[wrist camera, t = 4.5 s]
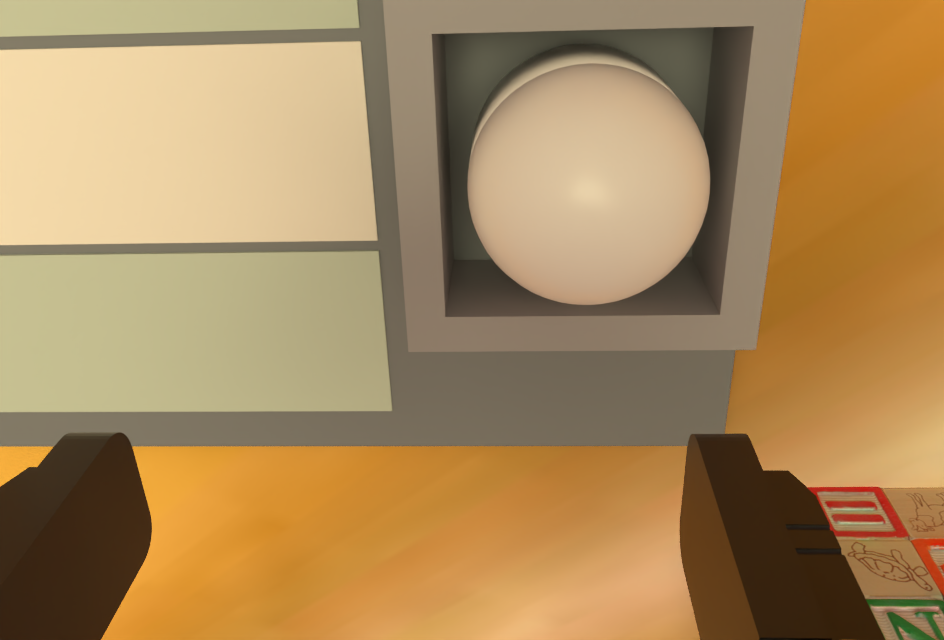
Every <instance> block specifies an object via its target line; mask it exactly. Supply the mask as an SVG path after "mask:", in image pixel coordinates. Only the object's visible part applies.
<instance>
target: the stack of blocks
mask: <svg viewBox="0 0 944 640" xmlns="http://www.w3.org/2000/svg"><path fill="white" fill-rule="evenodd" d="M808 489H809V490H810V491H811V492H812V493H814V494H815V495H816V497H817V499H818V501H819V503H820V505H821V507H822V509H823V511H824V513H825V515H826V518H827V520H828V522H829V524H830V530H833V532H834V534H835V536H836V538H837V540H838V542H839V545H840V547H841V553H842V555H845V557H846V559H847V561H848V563H849V565H850V567H851V569H852V572H853V574H854V576H855V578H856V580H857V582H858V584H859V586H860V588H861V590H862V592H863V594H864V596H865V599H866V601H867V603H868V605H869V607H870V609H871V611H872V613H873V615H874V617H875V619H876V621H877V623H878V625H879V628H880V630H881V632H882V634H883V636H884V638H885V640H944V488H885V489H881V488H879V487H808Z"/></svg>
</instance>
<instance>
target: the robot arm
mask: <svg viewBox="0 0 944 640" xmlns="http://www.w3.org/2000/svg"><path fill="white" fill-rule="evenodd" d="M151 532H152V523H151V516H150V511H149V508H148V504H147V500H146V496H145V493H144V489H143V485H142V482H141V478H140V474H139V471H138V467H137V463H136V460H135V456H134V452H133V449H132V445H131V442H130V440H129V439H128V437H127V436H126V435H125V434H124V433H121V432H74V433H67V434H66V435H64V436H63V437H62V438H61V439H60V440H59V441H58V443H57V444H56V445H55V446H54V447H53V449H52V450H51V451H50V452H49V454H48V455H47V456H46V457H45V458H44V460H43V461H42V462H41V463H40V464H39V466H38V467H29V468H27V469H26V470H25V471H23V472H22V473H20V474H19V475H17V476H16V477H14V478H13V479H11V480H10V481H8V482H7V483H5V484H4V485H3V486H1V487H0V640H101V638H102V637H103V635H104V633H105V631H106V629H107V628H108V626H109V624H110V622H111V620H112V619H113V617H114V615H115V613H116V611H117V609H118V608H119V606H120V604H121V602H122V600H123V599H124V597H125V595H126V593H127V591H128V590H129V588H130V586H131V584H132V582H133V581H134V579H135V577H136V575H137V573H138V571H139V570H140V568H141V566H142V564H143V562H144V560H145V558H146V556H147V553H148V550H149V546H150V541H151ZM680 548H681V557H682V563H683V568H684V572H685V577H686V581H687V585H688V589H689V593H690V598H691V602H692V606H693V610H694V614H695V619H696V623H697V627H698V631H699V635H700V640H885V638H884V636H883V634H882V632H881V630H880V628H879V625H878V623H877V621H876V619H875V617H874V615H873V613H872V611H871V609H870V607H869V605H868V603H867V601H866V599H865V596H864V594H863V592H862V590H861V588H860V586H859V584H858V582H857V580H856V578H855V576H854V574H853V572H852V569H851V567H850V565H849V563H848V561H847V559H846V557H845V555H842V553H841V547H840V545H839V542H838V540H837V538H836V536H835V534H834V532H833V530H830V524H829V522H828V520H827V518H826V515H825V513H824V511H823V509H822V507H821V505H820V503H819V501H818V499H817V497H816V495H815V494H814V493H812V492H811V491H810V490H809V489H808V488H807V487H806V486H805V485H804V484H802V483H801V482H800V481H799V480H798V479H797V478H796V477H795V476H794V475H792V474H791V473H790V472H789V471H763V470H762V467H761V465H760V462H759V460H758V457H757V455H756V453H755V450H754V448H753V445H752V443H751V441H750V438H749V437H748V435H746V434H691V435H690V437H689V441H688V447H687V456H686V466H685V476H684V486H683V496H682V506H681V516H680Z"/></svg>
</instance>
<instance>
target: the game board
mask: <svg viewBox="0 0 944 640" xmlns="http://www.w3.org/2000/svg"><path fill="white" fill-rule="evenodd" d="M805 2H806V0H0V446H55V445H56V444H57V443H58V441H59V440H60V439H61V438H62V437H63V436H64V435H66V434H67V433H74V432H121V433H124V434H125V435H126V436H127V437H128V439H129V440H130V442H131V445H132V446H688V441H689V437H690V435H691V434H725V426H726V418H727V411H728V403H729V395H730V388H731V380H732V372H733V365H734V357H735V350H756V345H757V338H758V331H759V324H760V317H761V310H762V303H763V296H764V289H765V282H766V275H767V268H768V261H769V254H770V247H771V240H772V233H773V226H774V219H775V212H776V205H777V198H778V191H779V184H780V177H781V170H782V163H783V156H784V149H785V142H786V135H787V128H788V121H789V114H790V107H791V100H792V93H793V86H794V79H795V72H796V65H797V58H798V51H799V44H800V37H801V30H802V23H803V16H804V9H805ZM577 44H592V45H601V46H606V47H612V48H615V49H618V50H621V51H624V52H626V53H628V54H630V55H632V56H634V57H636V58H638V59H640V60H641V61H643V62H644V63H645V64H647V65H648V66H650V67H651V68H652V69H653V70H654V71H655V72H656V73H657V74H659V75H660V76H661V78H662V79H663V80H664V81H665V82H666V84H667V85H668V86H669V87H670V89H671V90H672V91H673V92H674V94H675V95H676V96H677V97H678V99H679V100H680V101H681V102H682V104H683V105H684V106H685V107H686V109H687V110H688V111H689V113H690V114H691V116H692V118H693V119H694V121H695V123H696V124H697V127H698V129H699V131H700V133H701V136H702V138H703V141H704V143H705V147H706V151H707V155H708V159H709V168H710V195H709V201H708V207H707V211H706V214H705V218H704V221H703V224H702V226H701V228H700V231H699V233H698V235H697V237H696V239H695V241H694V243H693V244H692V246H691V248H690V249H689V251H688V252H687V254H686V255H685V256H684V258H683V259H682V260H681V261H680V262H679V264H678V265H677V266H676V267H675V268H674V269H673V270H672V271H671V272H670V273H668V274H667V275H666V276H665V277H664V278H662V279H661V280H660V281H658V282H657V283H656V284H654V285H652V286H651V287H649V288H647V289H646V290H644V291H642V292H640V293H638V294H635V295H633V296H631V297H629V298H625V299H622V300H619V301H616V302H610V303H605V304H596V305H576V304H567V303H561V302H557V301H553V300H550V299H547V298H544V297H542V296H539V295H537V294H535V293H532V292H531V291H529V290H527V289H526V288H524V287H522V286H520V285H519V284H518V283H517V282H515V281H514V280H513V279H511V278H510V277H509V276H508V275H506V274H505V273H504V272H503V271H502V270H501V269H500V268H499V267H498V266H497V265H496V263H495V262H494V261H493V259H492V258H491V257H490V255H489V254H488V253H487V251H486V249H485V248H484V246H483V244H482V242H481V240H480V239H479V237H478V234H477V232H476V229H475V227H474V224H473V221H472V217H471V213H470V209H469V201H468V190H467V183H468V168H469V161H470V154H471V148H472V141H473V135H474V130H475V126H476V123H477V120H478V117H479V114H480V112H481V110H482V108H483V106H484V104H485V102H486V100H487V99H488V97H489V96H490V94H491V92H492V91H493V90H494V89H495V87H496V86H497V85H498V84H499V83H500V81H501V80H502V79H503V78H504V77H505V76H506V75H507V74H509V73H510V72H511V71H512V70H513V69H514V68H516V67H517V66H519V65H520V64H521V63H523V62H524V61H526V60H528V59H530V58H532V57H533V56H535V55H537V54H539V53H542V52H545V51H548V50H550V49H553V48H558V47H562V46H567V45H577Z"/></svg>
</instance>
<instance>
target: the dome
mask: <svg viewBox="0 0 944 640" xmlns="http://www.w3.org/2000/svg"><path fill="white" fill-rule="evenodd" d="M467 190H468V201H469V209H470V213H471V217H472V221H473V224H474V227H475V229H476V232H477V234H478V237H479V239H480V240H481V242H482V244H483V246H484V248H485V249H486V251H487V253H488V254H489V255H490V257H491V258H492V259H493V261H494V262H495V263H496V265H497V266H498V267H499V268H500V269H501V270H502V271H503V272H504V273H505V274H506V275H508V276H509V277H510V278H511V279H513V280H514V281H515V282H517V283H518V284H519V285H520V286H522V287H524V288H526V289H527V290H529V291H531V292H532V293H535V294H537V295H539V296H542V297H544V298H547V299H550V300H553V301H557V302H561V303H567V304H576V305H596V304H605V303H610V302H616V301H619V300H622V299H625V298H629V297H631V296H633V295H635V294H638V293H640V292H642V291H644V290H646V289H647V288H649V287H651V286H652V285H654V284H656V283H657V282H658V281H660V280H661V279H662V278H664V277H665V276H666V275H667V274H668V273H670V272H671V271H672V270H673V269H674V268H675V267H676V266H677V265H678V264H679V262H680V261H681V260H682V259H683V258H684V256H685V255H686V254H687V252H688V251H689V249H690V248H691V246H692V244H693V243H694V241H695V239H696V237H697V235H698V233H699V231H700V228H701V226H702V224H703V221H704V218H705V214H706V211H707V207H708V201H709V195H710V168H709V159H708V155H707V151H706V147H705V143H704V141H703V138H702V136H701V133H700V131H699V129H698V127H697V124H696V123H695V121H694V119H693V118H692V116H691V114H690V113H689V111H688V110H687V109H686V107H685V106H684V105H683V104H682V102H681V101H680V100H679V99H678V97H677V96H676V95H675V94H674V92H673V91H672V90H671V89H670V87H669V86H668V85H667V84H666V82H665V81H664V80H663V79H662V78H661V76H660V75H659V74H657V73H656V72H655V71H654V70H653V69H652V68H651V67H650V66H648V65H647V64H645V63H644V62H643V61H641V60H640V59H638V58H636V57H634V56H632V55H630V54H628V53H626V52H624V51H621V50H618V49H615V48H612V47H606V46H601V45H592V44H577V45H567V46H562V47H558V48H553V49H550V50H548V51H545V52H542V53H539V54H537V55H535V56H533V57H532V58H530V59H528V60H526V61H524V62H523V63H521V64H520V65H519V66H517V67H516V68H514V69H513V70H512V71H511V72H510V73H509V74H507V75H506V76H505V77H504V78H503V79H502V80H501V81H500V83H499V84H498V85H497V86H496V87H495V89H494V90H493V91H492V92H491V94H490V96H489V97H488V99H487V100H486V102H485V104H484V106H483V108H482V110H481V112H480V114H479V117H478V120H477V123H476V126H475V130H474V135H473V141H472V148H471V154H470V161H469V168H468V183H467Z"/></svg>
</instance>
